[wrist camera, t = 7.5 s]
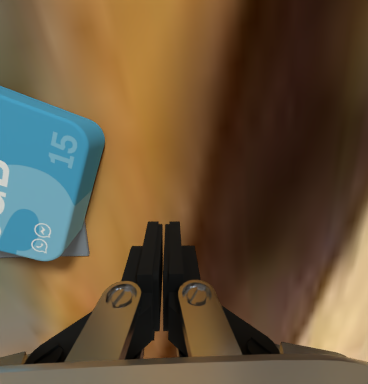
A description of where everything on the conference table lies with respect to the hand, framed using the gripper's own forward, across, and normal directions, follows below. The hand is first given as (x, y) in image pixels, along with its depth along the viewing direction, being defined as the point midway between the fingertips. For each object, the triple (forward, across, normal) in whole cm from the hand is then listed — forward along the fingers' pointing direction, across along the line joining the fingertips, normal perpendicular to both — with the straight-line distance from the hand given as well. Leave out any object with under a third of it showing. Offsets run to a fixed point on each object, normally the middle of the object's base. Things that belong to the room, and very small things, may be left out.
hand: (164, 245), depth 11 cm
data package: (+8, +7, 0) cm, 11 cm away
